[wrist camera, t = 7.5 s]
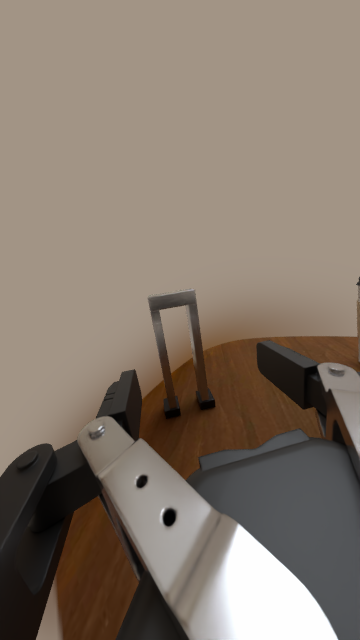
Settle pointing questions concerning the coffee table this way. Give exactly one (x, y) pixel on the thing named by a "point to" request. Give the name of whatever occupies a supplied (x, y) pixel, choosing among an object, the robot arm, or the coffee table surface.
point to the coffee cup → (358, 314)
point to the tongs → (189, 301)
